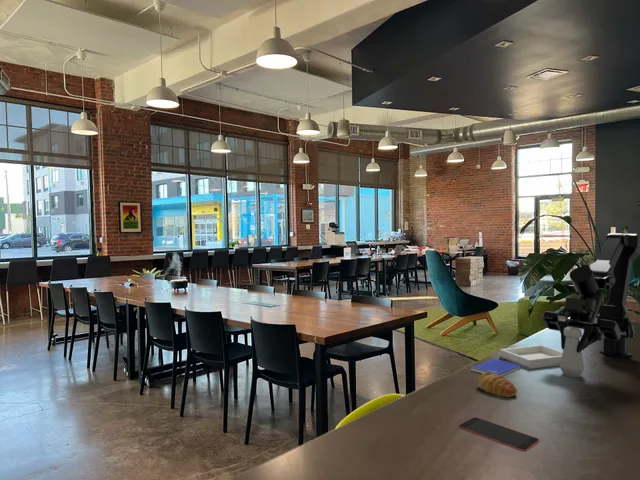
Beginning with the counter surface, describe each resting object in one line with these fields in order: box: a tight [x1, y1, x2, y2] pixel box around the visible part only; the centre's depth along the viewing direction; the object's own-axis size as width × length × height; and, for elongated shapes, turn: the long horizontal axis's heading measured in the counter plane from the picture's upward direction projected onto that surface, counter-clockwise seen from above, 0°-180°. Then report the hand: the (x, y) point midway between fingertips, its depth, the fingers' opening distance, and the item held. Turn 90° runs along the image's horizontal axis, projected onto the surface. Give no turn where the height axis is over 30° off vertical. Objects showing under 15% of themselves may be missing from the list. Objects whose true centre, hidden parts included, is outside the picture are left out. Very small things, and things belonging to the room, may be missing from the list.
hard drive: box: [470, 358, 521, 377], centre depth 130 cm, size 2×8×12 cm
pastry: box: [476, 372, 518, 398], centre depth 113 cm, size 9×7×4 cm
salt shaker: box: [559, 327, 585, 379], centre depth 125 cm, size 6×6×13 cm
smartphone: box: [457, 417, 541, 452], centre depth 91 cm, size 7×1×14 cm
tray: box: [499, 344, 563, 370], centre depth 139 cm, size 16×12×2 cm
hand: (570, 350), depth 124 cm, fingers closed on salt shaker, 3 cm apart
